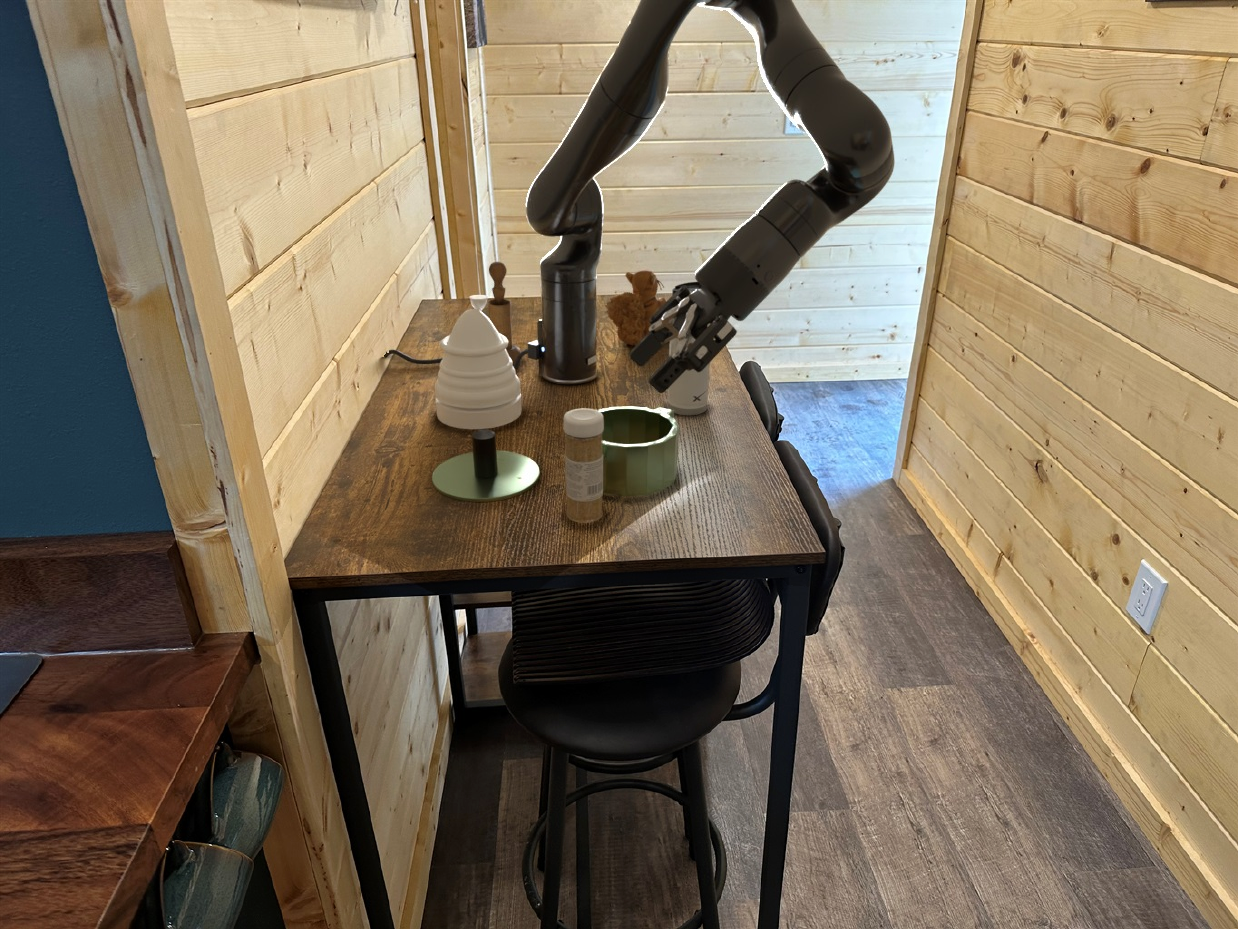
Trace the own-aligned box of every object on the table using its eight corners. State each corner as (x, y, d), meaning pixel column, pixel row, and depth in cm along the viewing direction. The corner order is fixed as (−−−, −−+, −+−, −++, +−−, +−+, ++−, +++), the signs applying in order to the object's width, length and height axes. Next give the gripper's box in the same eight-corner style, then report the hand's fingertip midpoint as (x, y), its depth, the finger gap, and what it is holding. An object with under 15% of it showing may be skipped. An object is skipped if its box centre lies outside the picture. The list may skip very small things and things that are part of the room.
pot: (545, 488, 106) (543, 436, 103) (627, 441, 119) (628, 393, 116) (626, 519, 99) (627, 463, 96) (704, 465, 112) (707, 415, 109)
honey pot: (463, 395, 134) (455, 285, 126) (535, 406, 131) (531, 293, 123) (420, 425, 123) (408, 306, 115) (498, 437, 120) (491, 316, 112)
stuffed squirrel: (680, 335, 164) (683, 269, 158) (640, 354, 154) (641, 284, 148) (638, 326, 169) (640, 262, 163) (597, 344, 159) (597, 275, 153)
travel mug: (707, 417, 127) (715, 289, 118) (664, 414, 128) (669, 286, 119) (711, 402, 133) (719, 278, 124) (670, 399, 134) (675, 276, 125)
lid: (410, 485, 106) (404, 438, 103) (485, 448, 116) (482, 405, 113) (487, 517, 99) (484, 468, 96) (561, 476, 109) (560, 430, 106)
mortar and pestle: (504, 371, 145) (499, 268, 137) (476, 364, 148) (469, 263, 140) (528, 360, 150) (524, 261, 142) (500, 354, 153) (494, 256, 145)
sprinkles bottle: (593, 505, 102) (593, 404, 96) (609, 522, 99) (610, 418, 93) (559, 512, 100) (557, 410, 94) (574, 530, 97) (572, 425, 91)
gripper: (704, 231, 95) (606, 334, 97) (751, 258, 83) (637, 375, 85) (743, 275, 98) (648, 373, 101) (794, 307, 86) (684, 418, 89)
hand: (643, 374), depth 93 cm, fingers open, 8 cm apart
